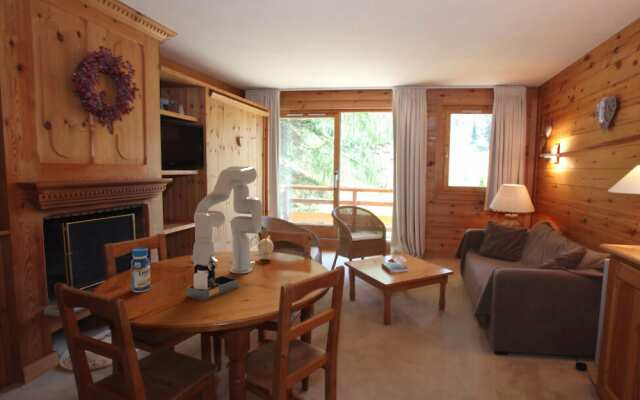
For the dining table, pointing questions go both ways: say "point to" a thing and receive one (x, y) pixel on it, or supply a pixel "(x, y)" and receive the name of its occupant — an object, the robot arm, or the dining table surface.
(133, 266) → the beverage bottle
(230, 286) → the rack
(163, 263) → the dining table surface
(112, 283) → the dining table surface
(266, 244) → the kitten
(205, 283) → the medicine bottle
